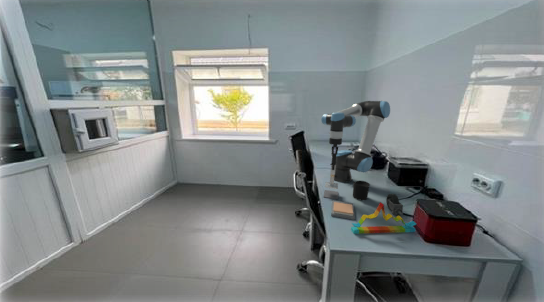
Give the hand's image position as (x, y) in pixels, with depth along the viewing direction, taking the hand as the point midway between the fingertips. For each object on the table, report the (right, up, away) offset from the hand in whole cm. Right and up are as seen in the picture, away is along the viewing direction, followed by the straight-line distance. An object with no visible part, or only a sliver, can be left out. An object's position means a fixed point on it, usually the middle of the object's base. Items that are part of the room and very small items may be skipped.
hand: (332, 173), depth 135 cm
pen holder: (+18, -16, 0) cm, 24 cm away
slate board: (+1, -19, -16) cm, 25 cm away
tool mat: (0, -15, +4) cm, 15 cm away
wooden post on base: (0, -8, +2) cm, 9 cm away
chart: (+14, -25, -34) cm, 44 cm away
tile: (+2, -17, -14) cm, 22 cm away
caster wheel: (+30, -20, -17) cm, 40 cm away
